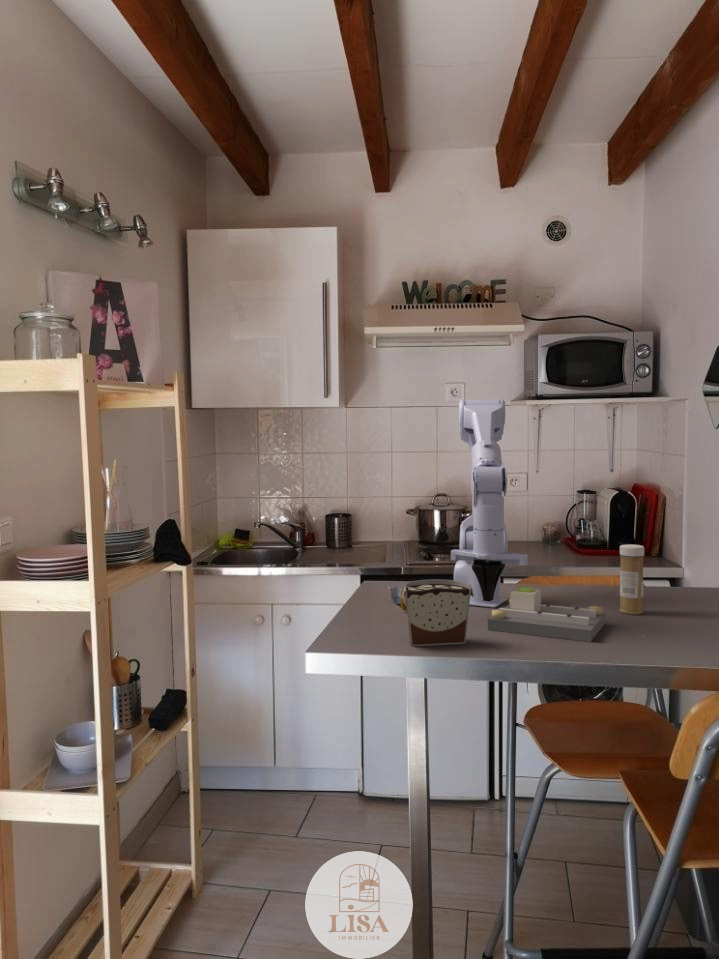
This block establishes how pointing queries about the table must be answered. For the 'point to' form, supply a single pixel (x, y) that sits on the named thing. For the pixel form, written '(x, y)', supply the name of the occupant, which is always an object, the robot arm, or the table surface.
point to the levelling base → (550, 622)
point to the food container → (437, 611)
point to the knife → (398, 596)
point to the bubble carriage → (525, 599)
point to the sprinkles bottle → (631, 579)
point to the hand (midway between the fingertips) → (488, 600)
